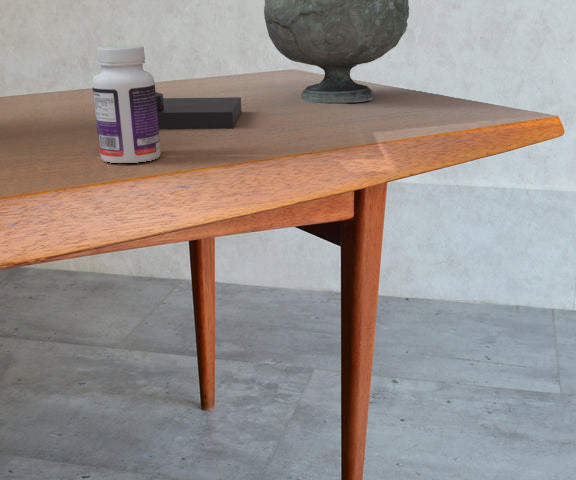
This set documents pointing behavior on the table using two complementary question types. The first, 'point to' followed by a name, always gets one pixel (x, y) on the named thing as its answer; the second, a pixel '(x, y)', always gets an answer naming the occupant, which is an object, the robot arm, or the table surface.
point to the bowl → (335, 39)
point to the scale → (197, 112)
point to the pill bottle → (125, 106)
